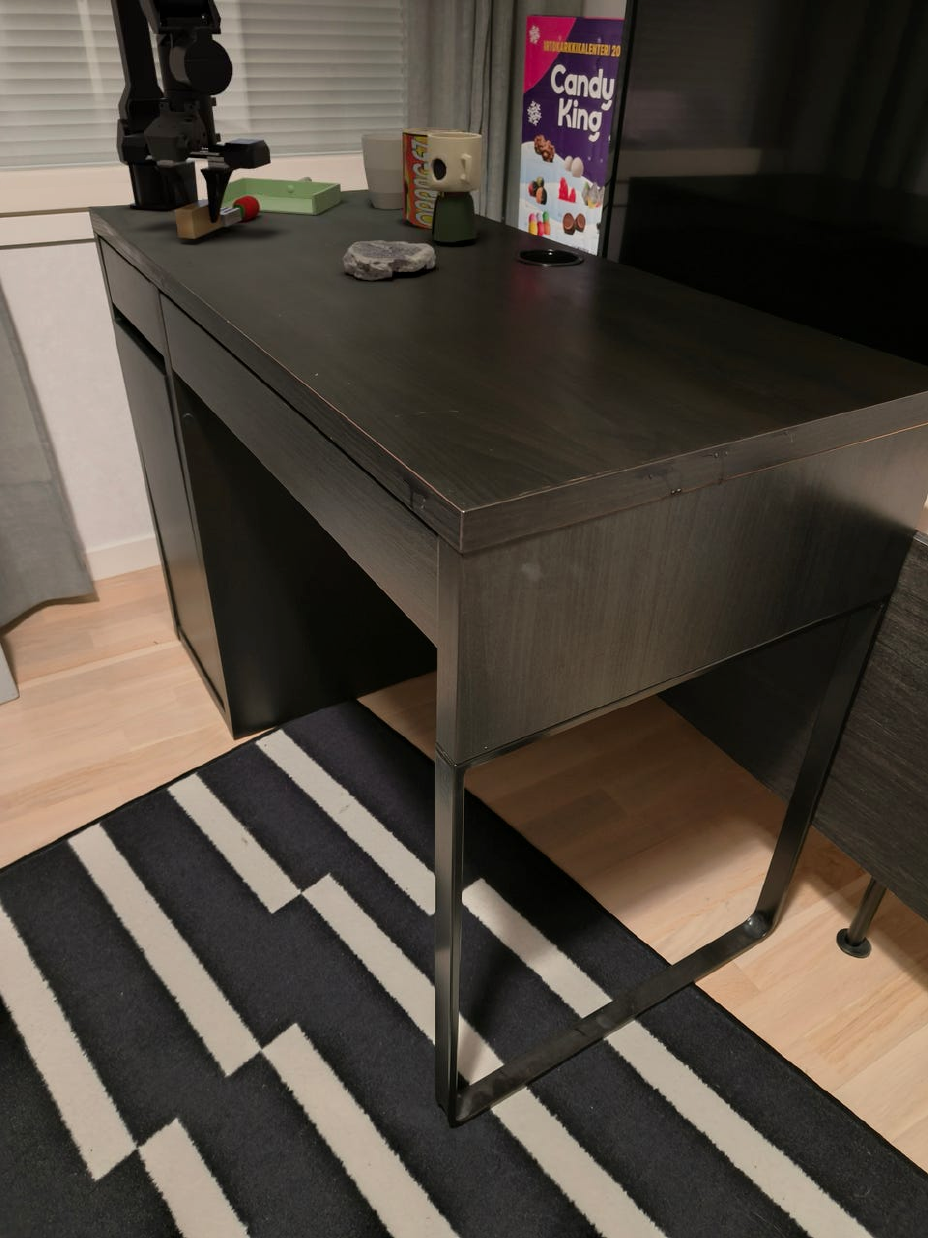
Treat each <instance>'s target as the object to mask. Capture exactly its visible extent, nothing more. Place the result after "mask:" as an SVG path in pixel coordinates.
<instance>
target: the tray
mask: <svg viewBox="0 0 928 1238" xmlns="http://www.w3.org/2000/svg"><path fill="white" fill-rule="evenodd" d="M341 188H342V187H341V183H340V182H326V181H325V182H324V181H313V180H312V178H311V177H310V176H305V177H302V178H299V179H298V180H295V179H294V180H291V179H274V178H260V177H245V176H243V177H240V178H237V179H234V180H232V181H229V183H228V185H227V188H226V191H225V194H224V198H223V202H222V206H221V208H222V207H227V209H228V208H230V207H231V208H232V206H233V203H234V202H235V201H236V200H237V199H239V198H242V197H244V196H253V197H255V198H256V199H257V200H258V202H259V205H260V211H259V212H263V213H276V214H277V213H279V214H295V215H305V216H317V215H319V214H321V213H323V212H325V211H327V210H329V209H331V208H333V207H335V206H337V205H339V204H341V201H342V189H341Z"/></svg>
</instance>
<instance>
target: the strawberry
mask: <svg viewBox="0 0 928 1238" xmlns="http://www.w3.org/2000/svg"><path fill="white" fill-rule="evenodd" d="M232 208H234V209H235V208H240V210H241V219H242V220H241V222H243V221H244V222H245V221H249V220H251V219H253V218H255V217H257V216H258V215H259V213H260V212H261V211H260V205H259V202H258V200H257V199H256V198H255V197H253V196H244V197H242V198H239V199H237V200H236V201H235V202H234V203H233V206H232Z"/></svg>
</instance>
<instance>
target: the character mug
mask: <svg viewBox="0 0 928 1238" xmlns="http://www.w3.org/2000/svg"><path fill="white" fill-rule="evenodd" d="M427 155H428V177H427V181H428V186H429V188H431V189H433V190H436V191H437V194H438V195H437V197H436V199H435V204H434V211H433V219H432V229H430V230H431V231H430V238H431V239H432V238H433V240H434V241H437V242H441V243H455V245H460V243H461V241H466V240H473V239H476V238H477V223H476V222H477V221H476V211H475V200H474V198H473V196H472V195H471V192H473V191H477V190H479V189H480V188H481V187H482V186H481V185H482V163H483V162H482V161H483V160H482V159H483V135H481V134H479V133H474V132H468V131H467V132H466V131H465V132H439V133H431V134H428V148H427Z"/></svg>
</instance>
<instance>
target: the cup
mask: <svg viewBox="0 0 928 1238" xmlns="http://www.w3.org/2000/svg"><path fill="white" fill-rule="evenodd" d="M360 137H361V149H362V159H363V167H364V173H365V178H366V183H367V188H368V192H369V196H370V198H371V202H372V204H373V208H375V209H379V210H400V209H404V203H403V146H402V132H401V133H400V132H370V133H365V134H364V133H363V134H361V135H360Z"/></svg>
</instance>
